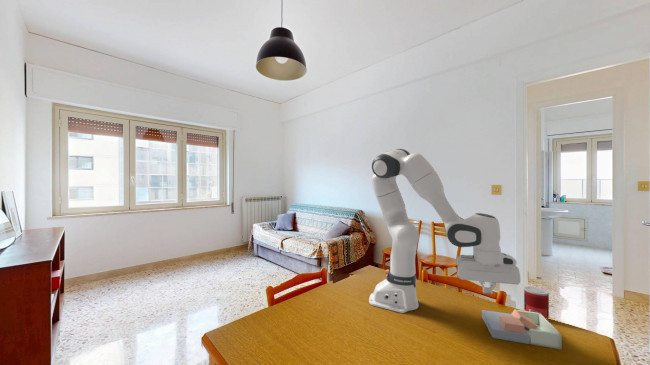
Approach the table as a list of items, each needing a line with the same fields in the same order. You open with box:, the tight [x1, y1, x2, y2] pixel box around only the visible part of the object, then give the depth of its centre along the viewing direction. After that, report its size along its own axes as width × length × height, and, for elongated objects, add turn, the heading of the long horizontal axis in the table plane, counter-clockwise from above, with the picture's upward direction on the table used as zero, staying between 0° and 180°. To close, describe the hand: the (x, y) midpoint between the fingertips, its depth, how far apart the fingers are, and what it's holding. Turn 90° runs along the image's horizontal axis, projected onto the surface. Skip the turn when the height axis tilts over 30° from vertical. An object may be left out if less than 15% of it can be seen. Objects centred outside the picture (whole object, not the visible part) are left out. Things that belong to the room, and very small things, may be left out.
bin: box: [516, 309, 562, 350], centre depth 94 cm, size 9×15×5 cm, turn 161°
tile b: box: [499, 315, 525, 333], centre depth 93 cm, size 6×6×2 cm
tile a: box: [511, 308, 538, 330], centre depth 98 cm, size 6×6×2 cm
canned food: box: [523, 286, 550, 320], centre depth 107 cm, size 8×8×11 cm
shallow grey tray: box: [481, 309, 530, 345], centre depth 97 cm, size 11×15×3 cm
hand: (487, 292), depth 96 cm, fingers closed
